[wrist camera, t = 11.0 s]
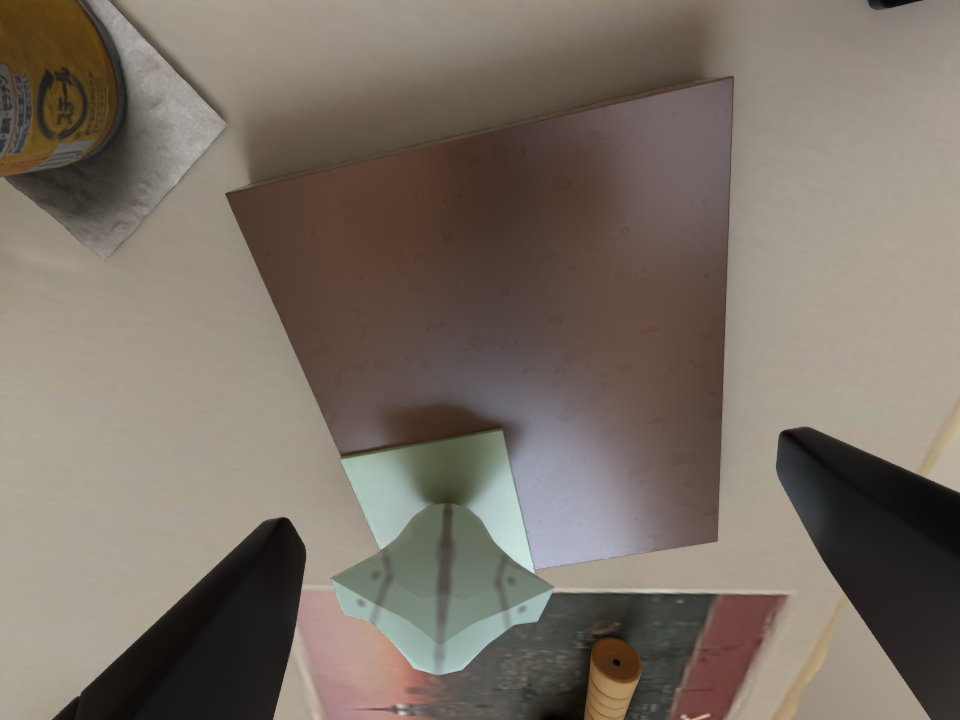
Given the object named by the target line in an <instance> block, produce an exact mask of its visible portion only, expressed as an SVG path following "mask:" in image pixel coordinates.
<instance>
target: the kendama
mask: <svg viewBox="0 0 960 720" xmlns="http://www.w3.org/2000/svg"><path fill="white" fill-rule="evenodd" d="M641 672H642V663H641V659H640V657H639V656H638V654H637V652H636V651H635V650H634V649H633V648H632V647H631V646H630V645H629V644H628V643H626V642H624V641H623V640H620V639H618V638H613V637H605V638H601V639H599V640H598V641H597V642H595V644H594V645H593V648H592V651H591V663H590V674H589V684H588V692H587V701H586V707H585V715H584V720H623V719H624V717H625V714H626V711H627V708H628V706H629V703H630V700H631V698H632V695H633V692H634V690H635V688H636V686H637V683H638V681H639V679H640V676H641Z"/></svg>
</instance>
